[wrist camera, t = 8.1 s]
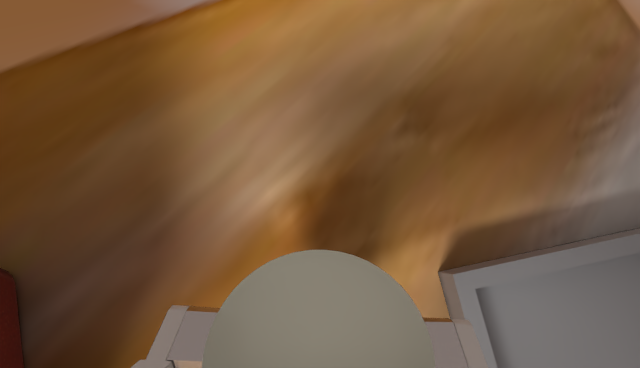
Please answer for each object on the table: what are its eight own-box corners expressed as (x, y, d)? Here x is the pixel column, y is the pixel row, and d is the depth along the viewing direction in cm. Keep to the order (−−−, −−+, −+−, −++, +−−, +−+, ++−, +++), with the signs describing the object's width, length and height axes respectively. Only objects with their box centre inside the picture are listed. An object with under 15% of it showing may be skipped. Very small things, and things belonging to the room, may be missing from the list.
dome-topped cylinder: (381, 349, 18) (465, 469, 8) (274, 375, 17) (221, 533, 8) (356, 241, 19) (401, 228, 9) (255, 264, 18) (186, 276, 9)
